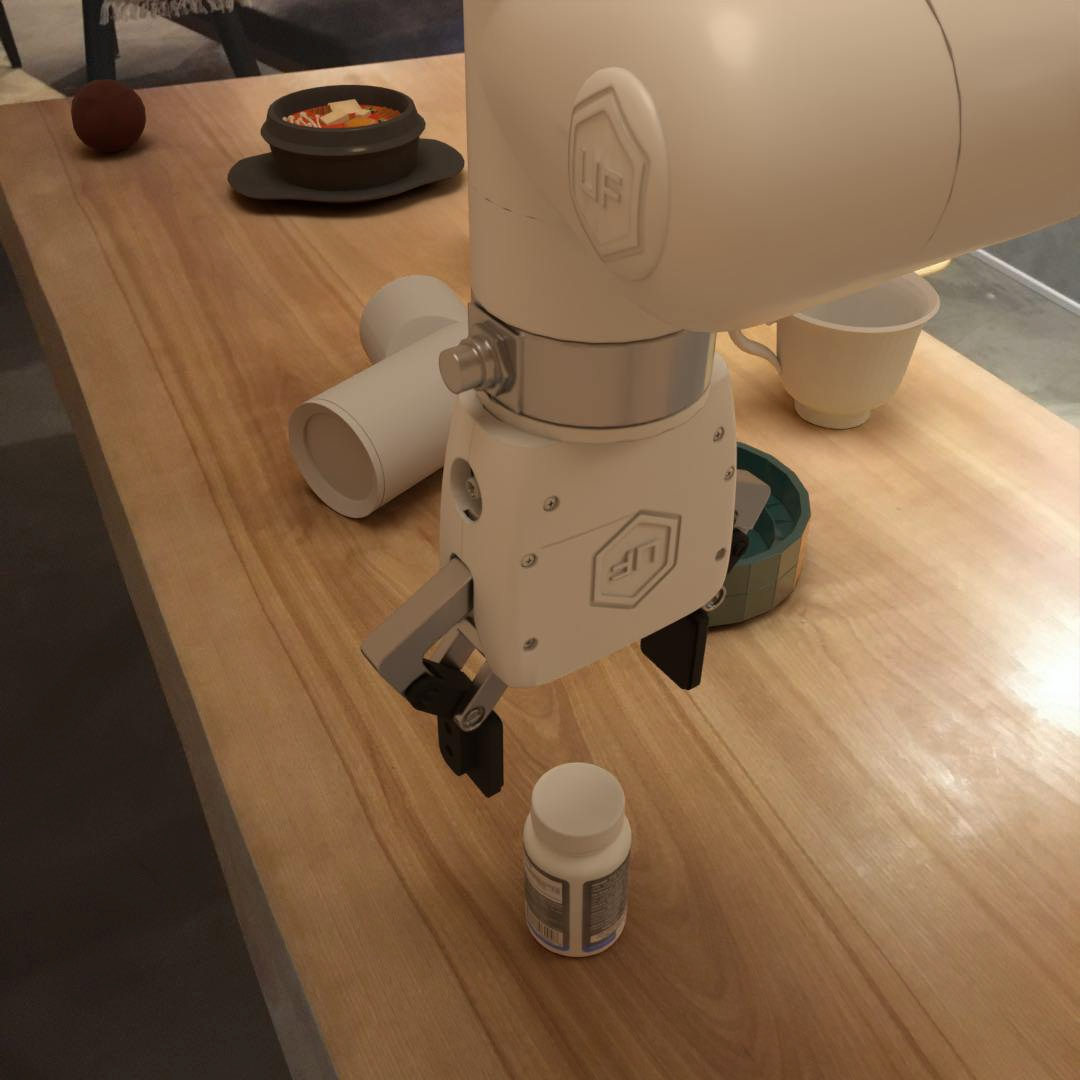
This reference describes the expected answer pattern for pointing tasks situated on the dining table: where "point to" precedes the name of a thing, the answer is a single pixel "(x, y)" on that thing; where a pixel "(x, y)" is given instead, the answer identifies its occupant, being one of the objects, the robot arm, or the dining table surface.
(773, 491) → the bowl
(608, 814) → the pill bottle
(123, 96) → the dark brown ball
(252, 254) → the dining table surface
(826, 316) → the teacup
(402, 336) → the beige tubular fitting
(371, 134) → the casserole
